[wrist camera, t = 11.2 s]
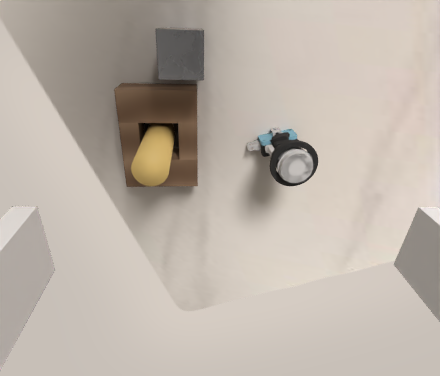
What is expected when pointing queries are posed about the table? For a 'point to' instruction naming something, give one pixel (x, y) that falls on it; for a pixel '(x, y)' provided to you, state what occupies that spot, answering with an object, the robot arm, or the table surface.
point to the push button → (287, 156)
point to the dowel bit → (154, 154)
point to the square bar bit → (180, 53)
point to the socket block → (159, 113)
